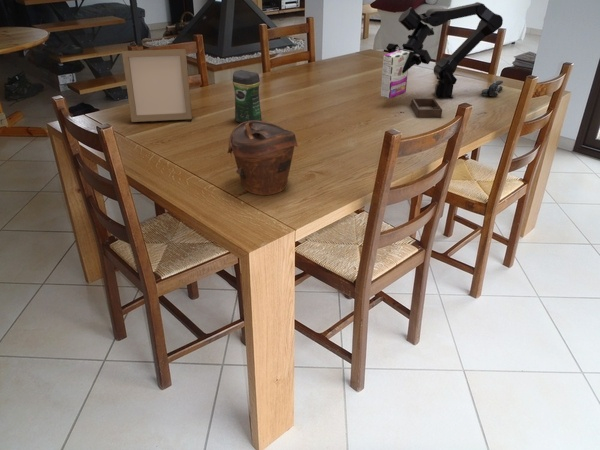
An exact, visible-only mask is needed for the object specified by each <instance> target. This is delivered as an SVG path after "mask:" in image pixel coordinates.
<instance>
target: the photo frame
mask: <svg viewBox="0 0 600 450" xmlns="http://www.w3.org/2000/svg"><path fill="white" fill-rule="evenodd" d="M121 56H122V63H123V71H124V77H125V85H126V91H127V99H128V106H129V107H128V108H129V114H130V120H131V123H138V122H140V123H141V122H158V121H159V122H160V121H178V120H181V121H182V120H192V119H193V110H192V100H191V91H190V90H191V89H190V80H189V71H188V69H189V68H188V60H187V59H188V58H187V51H186V48H174V49H173V48H172V49H171V48H170V49H142V50H121Z"/></svg>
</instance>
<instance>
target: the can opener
mask: <svg viewBox="0 0 600 450" xmlns="http://www.w3.org/2000/svg"><path fill="white" fill-rule="evenodd" d="M503 83H504V81H503V80H496V81H493V82H492V83H491V84H490V85H489V86H488V88H485V89H482V90H481V92H480V93H481V95H482V96H490V97H497V96H498V95H499V92H500V91H501V90H502V89H503V88H504V87H503V86H502V84H503Z"/></svg>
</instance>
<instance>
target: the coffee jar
mask: <svg viewBox="0 0 600 450" xmlns="http://www.w3.org/2000/svg"><path fill="white" fill-rule="evenodd" d="M260 85H261V79H260V74H259V73H258V72H253V71H249V70H243V69H238V70H236V71H234V72H233V74H232V86H233V89H234V90H233V91H234V105H235V106H234V120H235V121H236V122H237V123H239V124H241V123H243V122H246V121H262V111H261V101H260Z"/></svg>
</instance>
